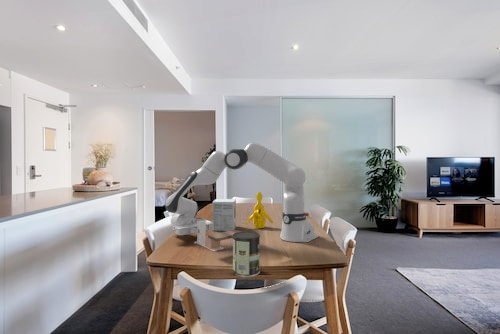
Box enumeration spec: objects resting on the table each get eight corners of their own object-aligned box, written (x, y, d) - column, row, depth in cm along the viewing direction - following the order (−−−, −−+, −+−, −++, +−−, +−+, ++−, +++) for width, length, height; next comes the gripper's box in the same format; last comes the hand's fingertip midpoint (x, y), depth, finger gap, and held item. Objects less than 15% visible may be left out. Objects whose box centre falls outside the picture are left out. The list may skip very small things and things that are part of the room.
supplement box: (233, 231, 162) (233, 202, 161) (211, 230, 163) (211, 201, 162) (236, 226, 175) (236, 198, 175) (216, 225, 176) (216, 198, 175)
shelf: (235, 250, 127) (235, 229, 127) (244, 254, 122) (244, 232, 122) (207, 257, 118) (207, 235, 117) (216, 261, 112) (216, 238, 112)
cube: (214, 244, 131) (214, 234, 131) (220, 247, 127) (220, 236, 127) (205, 246, 128) (205, 235, 128) (211, 249, 124) (211, 238, 124)
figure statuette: (246, 229, 167) (246, 193, 167) (244, 226, 175) (245, 191, 174) (274, 228, 169) (274, 193, 168) (272, 225, 177) (272, 191, 176)
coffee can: (256, 265, 108) (257, 230, 108) (262, 276, 98) (262, 237, 98) (231, 267, 107) (231, 231, 106) (233, 278, 96) (234, 239, 96)
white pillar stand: (204, 242, 139) (204, 220, 139) (224, 250, 125) (224, 226, 125) (194, 244, 135) (194, 221, 135) (213, 253, 121) (213, 228, 121)
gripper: (170, 222, 138) (182, 227, 128) (205, 217, 152) (219, 221, 141) (170, 235, 139) (182, 241, 128) (205, 228, 152) (219, 233, 141)
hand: (202, 230), depth 135 cm, fingers closed on white pillar stand, 3 cm apart
